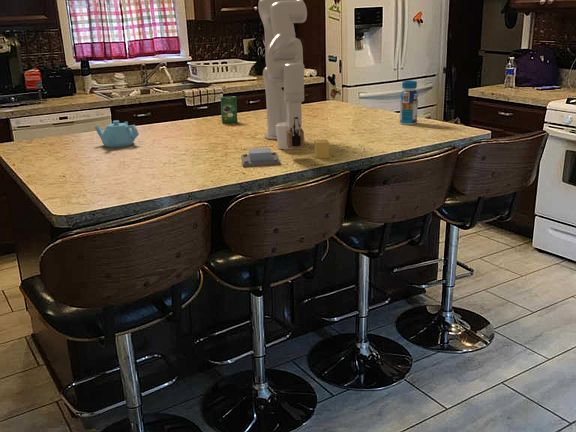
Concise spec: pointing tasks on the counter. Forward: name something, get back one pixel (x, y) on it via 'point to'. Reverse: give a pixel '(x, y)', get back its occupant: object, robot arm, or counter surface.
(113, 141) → the teapot
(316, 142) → the mustard brick
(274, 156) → the build plate
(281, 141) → the white cup
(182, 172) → the counter surface
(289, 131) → the walnut brick
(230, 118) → the coffee box
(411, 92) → the blue capped bottle
